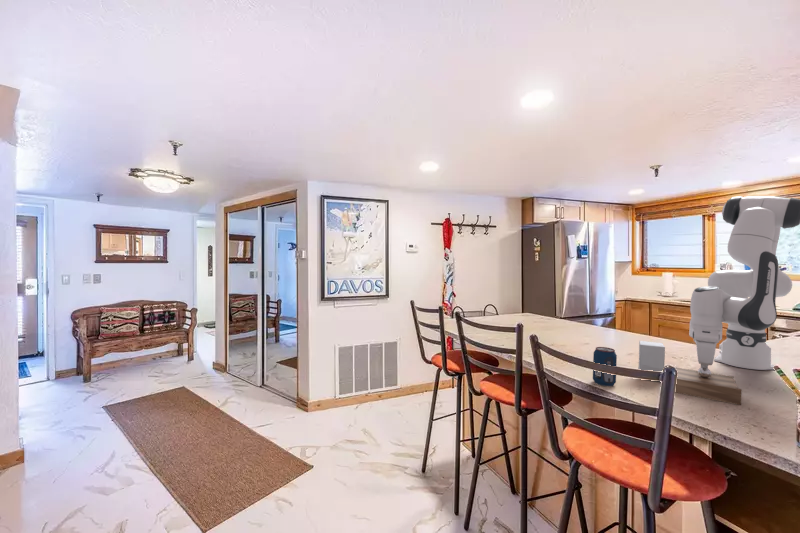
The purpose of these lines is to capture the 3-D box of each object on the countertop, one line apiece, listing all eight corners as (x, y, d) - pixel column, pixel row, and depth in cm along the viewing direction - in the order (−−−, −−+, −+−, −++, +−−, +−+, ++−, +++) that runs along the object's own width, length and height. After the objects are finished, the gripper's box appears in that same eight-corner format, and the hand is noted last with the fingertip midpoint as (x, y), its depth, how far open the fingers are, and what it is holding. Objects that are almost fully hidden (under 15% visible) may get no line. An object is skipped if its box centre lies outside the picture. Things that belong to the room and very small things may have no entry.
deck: (675, 374, 138) (676, 362, 138) (733, 383, 128) (733, 370, 128) (673, 392, 119) (674, 378, 119) (740, 405, 109) (741, 390, 109)
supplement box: (662, 377, 134) (663, 342, 133) (664, 383, 127) (665, 346, 127) (637, 373, 138) (639, 340, 137) (638, 379, 131) (639, 344, 131)
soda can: (601, 379, 130) (602, 345, 130) (620, 385, 124) (621, 350, 124) (588, 381, 127) (589, 347, 127) (606, 388, 121) (608, 352, 121)
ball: (697, 366, 129) (698, 366, 126) (711, 368, 127) (711, 368, 124) (697, 376, 128) (697, 376, 126) (710, 378, 126) (711, 378, 123)
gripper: (693, 327, 139) (692, 363, 139) (694, 336, 122) (692, 377, 123) (715, 329, 135) (714, 367, 135) (719, 338, 119) (717, 381, 119)
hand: (703, 372), depth 129 cm, fingers closed
